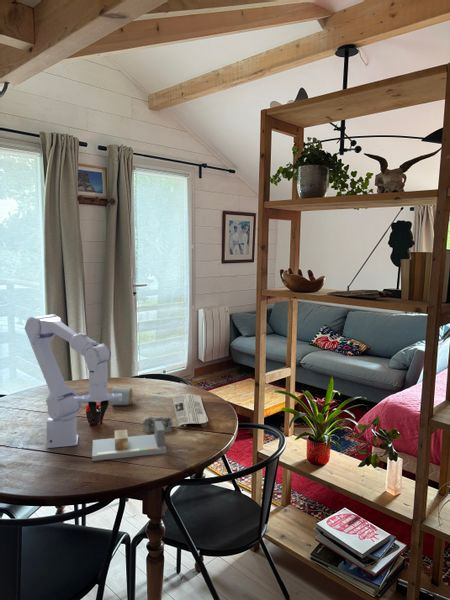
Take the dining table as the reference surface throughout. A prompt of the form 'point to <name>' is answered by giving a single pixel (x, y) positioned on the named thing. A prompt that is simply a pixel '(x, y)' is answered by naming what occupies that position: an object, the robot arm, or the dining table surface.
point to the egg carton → (149, 422)
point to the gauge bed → (131, 445)
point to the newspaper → (189, 409)
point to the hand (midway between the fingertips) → (98, 423)
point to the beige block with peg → (121, 439)
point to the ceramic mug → (125, 395)
